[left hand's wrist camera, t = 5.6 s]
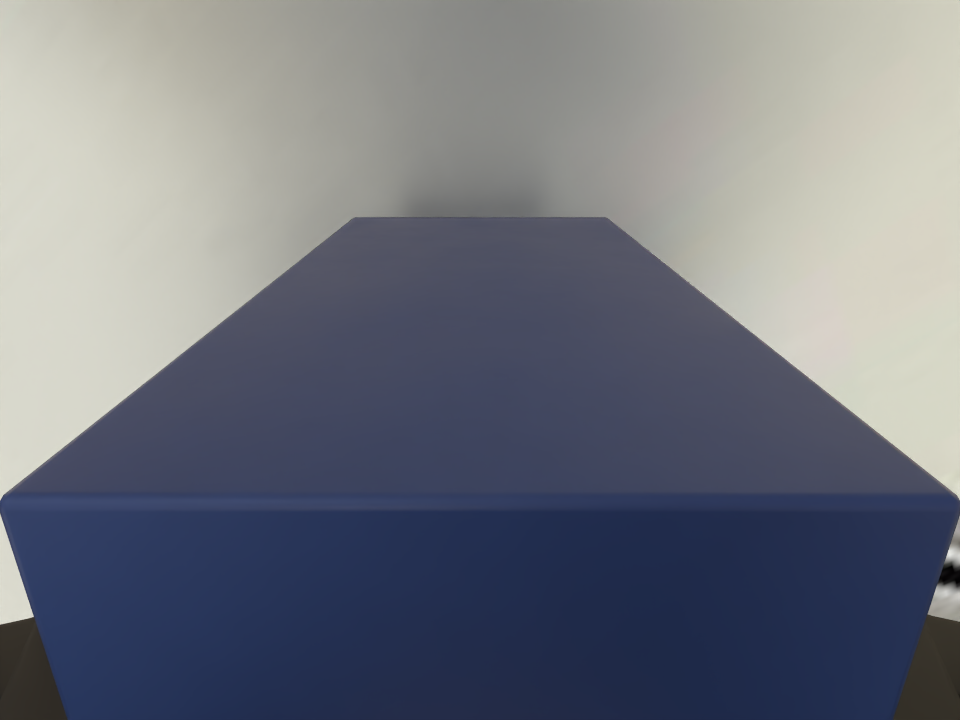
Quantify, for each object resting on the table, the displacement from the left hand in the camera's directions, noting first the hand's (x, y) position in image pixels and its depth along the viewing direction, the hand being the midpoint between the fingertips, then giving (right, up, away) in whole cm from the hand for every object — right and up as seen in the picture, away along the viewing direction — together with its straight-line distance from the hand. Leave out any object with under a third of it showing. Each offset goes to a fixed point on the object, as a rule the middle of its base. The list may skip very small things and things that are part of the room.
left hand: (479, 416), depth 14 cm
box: (0, -7, +6) cm, 9 cm away
